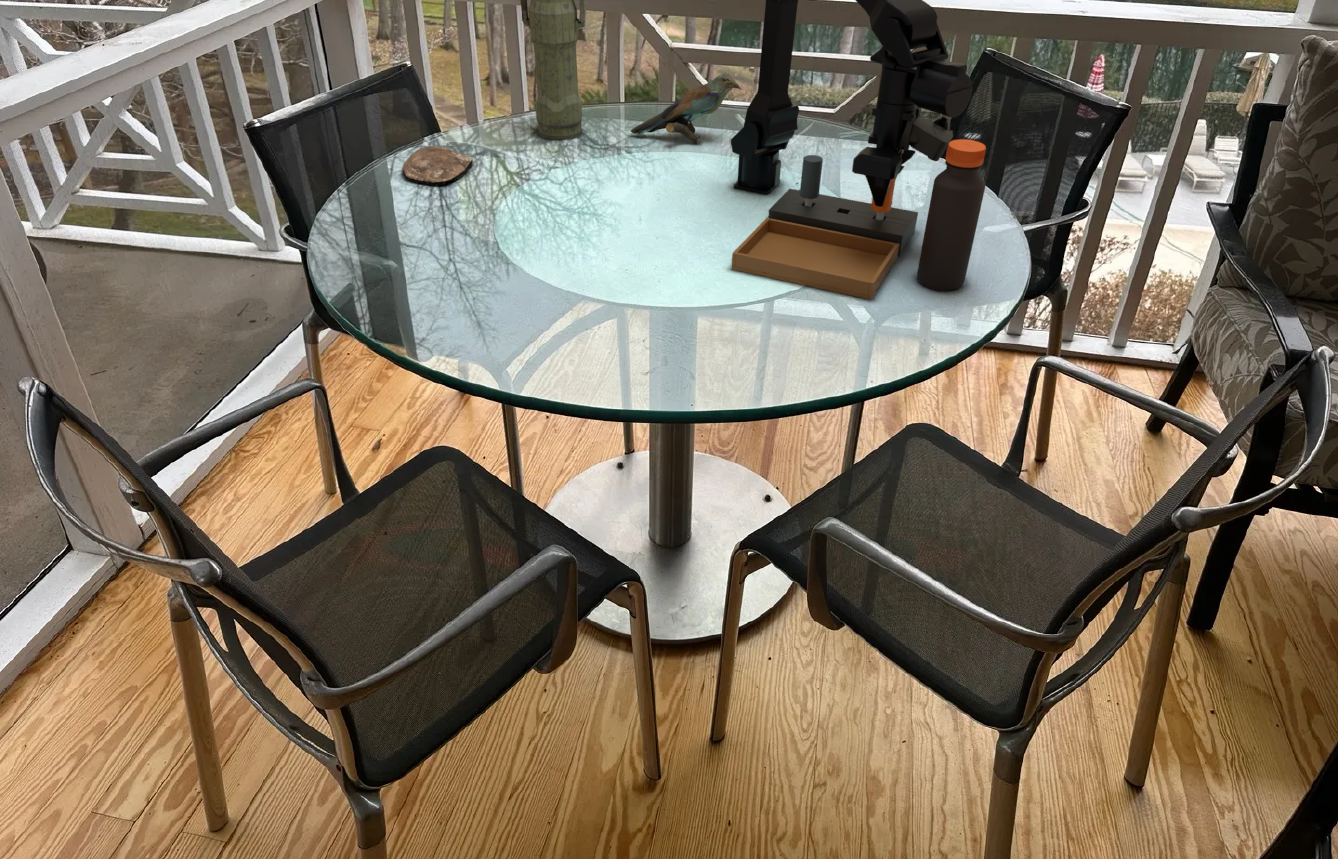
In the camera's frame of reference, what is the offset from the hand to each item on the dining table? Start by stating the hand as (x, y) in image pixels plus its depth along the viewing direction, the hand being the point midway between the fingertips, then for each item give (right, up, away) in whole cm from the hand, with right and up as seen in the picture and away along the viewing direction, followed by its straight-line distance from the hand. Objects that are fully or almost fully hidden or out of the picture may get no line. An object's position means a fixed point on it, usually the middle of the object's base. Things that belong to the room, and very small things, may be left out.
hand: (881, 202), depth 144 cm
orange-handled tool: (0, -5, +4) cm, 6 cm away
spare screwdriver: (-10, -2, +8) cm, 13 cm away
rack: (-5, -3, +6) cm, 8 cm away
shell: (-75, +11, +25) cm, 79 cm away
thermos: (-54, +24, +42) cm, 73 cm away
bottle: (+7, -13, -8) cm, 17 cm away
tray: (-11, -10, -4) cm, 15 cm away
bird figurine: (-30, +21, +39) cm, 54 cm away
